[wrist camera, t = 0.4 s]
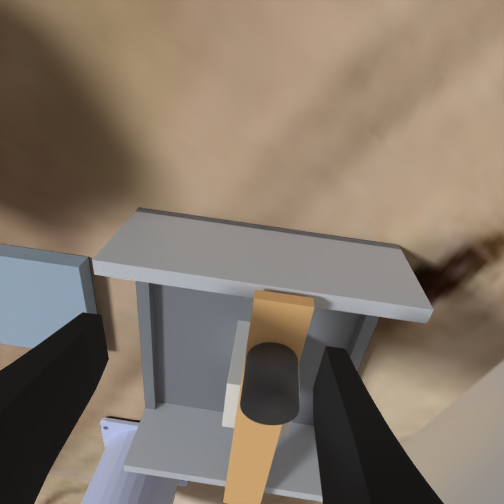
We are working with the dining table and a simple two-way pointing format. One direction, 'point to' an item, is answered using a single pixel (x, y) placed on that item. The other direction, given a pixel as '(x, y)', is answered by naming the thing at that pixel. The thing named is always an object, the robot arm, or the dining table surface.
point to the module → (240, 378)
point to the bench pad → (41, 293)
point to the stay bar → (266, 390)
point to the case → (225, 325)
